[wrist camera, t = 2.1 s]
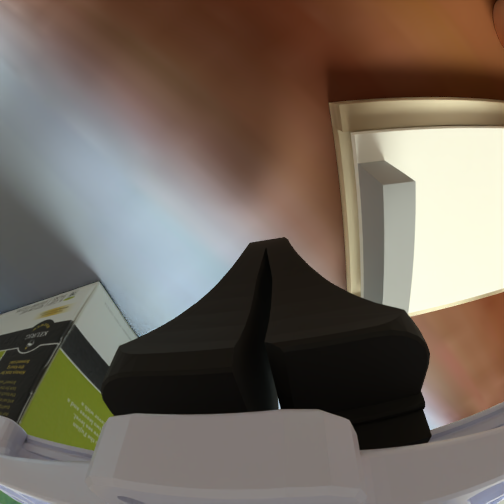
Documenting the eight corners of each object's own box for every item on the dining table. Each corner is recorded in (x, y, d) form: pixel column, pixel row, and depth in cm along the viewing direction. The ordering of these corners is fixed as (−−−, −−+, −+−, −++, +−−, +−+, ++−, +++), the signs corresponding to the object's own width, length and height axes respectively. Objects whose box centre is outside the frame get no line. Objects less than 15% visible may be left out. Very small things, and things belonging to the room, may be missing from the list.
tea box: (51, 398, 23) (-2, 526, 10) (-18, 316, 18) (-105, 447, 5) (185, 391, 20) (148, 595, 7) (103, 273, 16) (-35, 533, 3)
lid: (536, 127, 9) (581, 144, 6) (517, 277, 13) (547, 310, 10) (350, 132, 10) (380, 148, 7) (360, 315, 14) (377, 364, 11)
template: (576, 111, 9) (595, 117, 8) (560, 253, 14) (574, 266, 12) (328, 102, 11) (338, 104, 10) (347, 305, 16) (354, 327, 14)
